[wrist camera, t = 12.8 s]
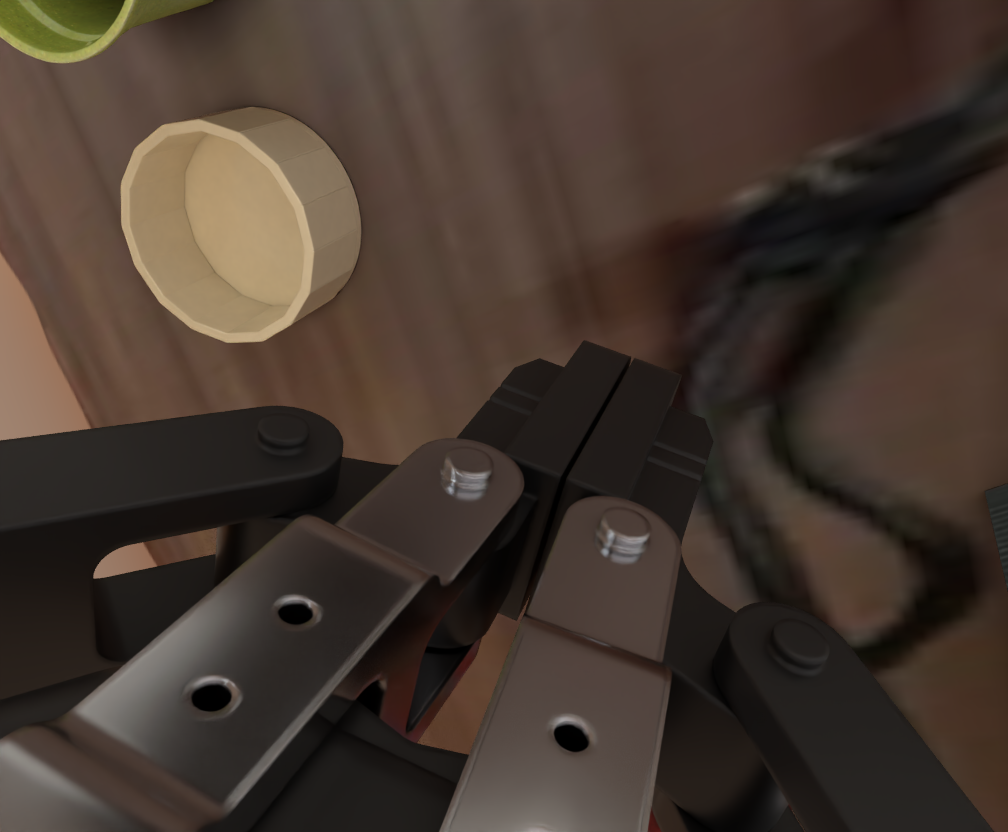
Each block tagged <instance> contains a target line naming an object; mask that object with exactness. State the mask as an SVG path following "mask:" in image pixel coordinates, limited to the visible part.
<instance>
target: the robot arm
mask: <svg viewBox="0 0 1008 832" xmlns="http://www.w3.org/2000/svg"><path fill="white" fill-rule="evenodd" d="M630 361H631V357H630V356H627V355H624V354H621V353H619V352H616V351H613V350H610V349H608V348H605V347H602V346H599V345H596V344H594V343H591V342H588V341H585V340H584V341H583V342H582V344H581V345H580V346H579V348H578V349H577V351H576V352H575V353H574V355H573V356H572V357H571V359H570V360H569V362H568V363H567V364H566V366H565V367H562V366H559V365H556V364H553V363H551V362H548V361H545V360H542V359H540V358H539V359H537V360H534V361H531V362H529V363H526V364H523V365H521V366H518V367H515V368H514V369H513V370H512V372H511V373H510V374H509V375H508V377H507V378H506V379H505V380H504V381H503V383H502V384H501V387H498V389H497V390H496V391H495V392H494V393H493V395H492V396H491V397H490V400H489V401H487V402H486V403H485V404H484V405H483V407H482V408H481V409H480V410H479V411H478V413H477V414H476V415H475V416H474V417H473V419H472V420H471V421H470V422H469V423H468V425H467V426H466V427H465V428H464V429H463V431H462V432H461V433H460V434H459V435H458V437H457V438H446V439H439V440H434V441H431V442H428V443H426V444H424V445H422V446H420V447H419V448H418V449H416V450H415V451H414V452H413V453H412V454H411V455H410V456H409V457H408V458H406V459H405V460H404V461H403V462H402V463H401V464H400V465H388V464H380V463H374V462H368V461H362V460H357V459H351V458H345V457H342V452H343V439H342V436H341V434H340V432H339V430H338V429H337V428H336V427H335V426H334V425H333V424H332V423H331V422H329V421H328V420H327V419H325V418H323V417H322V416H320V415H318V414H315V413H313V412H310V411H307V410H304V409H299V408H295V407H287V406H265V407H256V408H249V409H241V410H233V411H225V412H218V413H210V414H202V415H194V416H187V417H179V418H171V419H164V420H156V421H148V422H140V423H133V424H125V425H117V426H109V427H102V428H94V429H87V430H79V431H71V432H63V433H55V434H48V435H40V436H32V437H25V438H17V439H9V440H1V441H0V832H647V831H648V824H649V818H650V812H651V806H652V811H653V814H654V816H655V819H656V821H657V824H658V826H659V828H660V830H661V832H804V830H805V832H994V831H993V830H992V828H991V827H990V826H989V825H988V823H987V822H986V821H985V819H984V818H983V817H982V816H981V814H980V813H979V812H978V810H977V809H976V808H975V807H974V805H973V804H972V803H971V801H970V800H969V799H968V798H967V796H966V795H965V794H964V792H963V791H962V790H961V789H960V787H959V786H958V785H957V783H956V782H955V781H954V780H953V778H952V777H951V776H950V774H949V773H948V772H947V771H946V769H945V768H944V767H943V765H942V764H941V763H940V762H939V760H938V759H937V758H936V756H935V755H934V754H933V753H932V751H931V750H930V749H929V747H928V746H927V745H926V744H925V742H924V741H923V740H922V738H921V737H920V736H919V735H918V733H917V732H916V731H915V729H914V728H913V727H912V726H911V724H910V723H909V722H908V720H907V719H906V718H905V717H904V715H903V714H902V713H901V711H900V710H899V709H898V708H897V706H896V705H895V704H894V702H893V701H892V700H891V699H890V697H889V696H888V695H887V693H886V692H885V691H884V690H883V688H882V687H881V686H880V684H879V683H878V682H877V681H876V679H875V678H874V677H873V675H872V674H871V673H870V672H869V670H868V669H867V668H866V666H865V665H864V664H863V663H862V661H861V660H860V659H859V657H858V656H857V655H856V654H855V652H854V651H853V650H852V648H851V647H850V646H849V645H848V643H847V642H846V641H845V640H844V639H843V638H842V637H841V636H840V635H839V634H838V633H837V632H836V631H835V630H834V629H833V628H831V627H830V626H829V625H827V624H826V623H825V622H823V621H822V620H820V619H818V618H817V617H815V616H813V615H811V614H809V613H807V612H805V611H803V610H801V609H798V608H795V607H792V606H789V605H785V604H781V603H774V602H758V603H753V604H749V605H747V606H744V607H743V608H741V609H740V610H738V611H737V613H735V612H734V611H732V610H731V609H729V608H728V607H726V606H725V605H723V604H722V603H720V602H719V601H718V600H716V599H715V598H714V597H712V596H711V595H710V594H708V593H707V592H706V591H705V590H704V589H703V588H702V587H701V586H700V585H699V584H698V583H697V582H696V581H695V580H694V578H693V577H692V576H691V574H690V573H689V571H688V570H687V568H686V565H685V563H684V561H683V558H682V554H681V544H682V539H683V536H684V533H685V530H686V527H687V523H688V520H689V517H690V514H691V511H692V508H693V504H694V501H695V498H696V495H697V492H698V489H699V485H700V482H701V479H702V476H703V473H704V470H705V466H706V463H707V460H708V457H709V454H710V451H711V447H712V444H713V439H712V436H711V434H710V431H709V429H708V426H707V424H706V421H705V419H704V418H701V417H698V416H695V415H693V414H690V413H687V412H685V411H682V410H679V409H676V408H674V407H671V404H672V401H673V399H674V396H675V393H676V390H677V388H678V385H679V382H680V379H681V376H682V375H680V374H678V373H675V372H672V371H669V370H666V369H664V368H661V367H658V366H655V365H653V364H650V363H647V362H644V361H641V360H639V359H636V358H634V360H633V361H632V363H631V365H630ZM629 365H630V367H629ZM212 528H217V540H216V554H213V555H209V556H204V557H199V558H195V559H190V560H185V561H181V562H176V563H171V564H167V565H162V566H157V567H153V568H148V569H143V570H139V571H134V572H130V573H125V574H120V575H115V576H111V577H106V578H100V579H99V578H98V579H93V574H94V571H95V569H96V567H97V565H98V564H99V562H100V561H101V560H102V559H103V558H104V557H105V556H107V555H108V554H109V553H111V552H112V551H114V550H116V549H118V548H121V547H124V546H127V545H131V544H136V543H141V542H146V541H151V540H156V539H162V538H167V537H172V536H177V535H182V534H187V533H192V532H197V531H202V530H207V529H212ZM529 596H530V597H529ZM528 598H529V601H528V604H527V607H526V610H525V613H524V615H523V617H522V619H521V622H520V624H519V627H518V629H517V632H516V635H515V637H514V640H513V642H512V645H511V648H510V650H509V653H508V655H507V658H506V660H505V663H504V666H503V668H502V671H501V673H500V676H499V679H498V681H497V684H496V686H495V689H494V691H493V694H492V697H491V699H490V702H489V704H488V707H487V710H486V712H485V715H484V717H483V720H482V723H481V725H480V728H479V730H478V733H477V735H476V738H475V741H474V743H473V746H472V748H471V751H470V754H469V755H467V754H462V753H458V752H453V751H448V750H444V749H439V748H435V747H430V746H426V745H421V744H418V743H417V742H418V741H419V739H420V738H421V736H422V735H423V733H424V732H425V730H426V729H427V728H428V726H429V725H430V723H431V722H432V720H433V719H434V717H435V716H436V714H437V713H438V711H439V710H440V709H441V707H442V706H443V704H444V703H445V701H446V700H447V698H448V697H449V695H450V694H451V692H452V691H453V690H454V688H455V687H456V685H457V684H458V682H459V681H460V679H461V678H462V676H463V675H464V673H465V672H466V671H467V669H468V668H469V666H470V665H471V663H472V662H473V660H474V659H475V657H476V655H477V653H478V649H479V646H480V642H481V639H482V637H483V636H484V635H485V634H486V632H487V631H488V629H489V628H490V626H491V624H492V622H493V621H494V619H495V617H496V615H497V613H500V614H502V615H505V616H507V617H509V618H512V619H514V620H516V621H517V619H518V617H519V615H520V613H521V611H522V610H523V608H524V606H525V604H526V602H527V600H528ZM788 804H789V805H790V807H791V809H792V810H793V812H794V814H795V815H796V817H797V818H798V820H799V822H800V823H801V825H802V827H803V828H804V830H803V829H802V827H801V825H800V824H799V822H798V820H797V819H796V817H795V815H794V814H793V812H792V810H791V809H790V807H789V805H788Z"/></svg>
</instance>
